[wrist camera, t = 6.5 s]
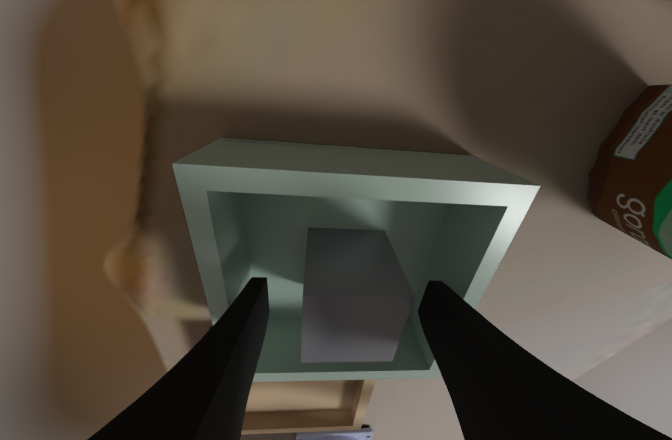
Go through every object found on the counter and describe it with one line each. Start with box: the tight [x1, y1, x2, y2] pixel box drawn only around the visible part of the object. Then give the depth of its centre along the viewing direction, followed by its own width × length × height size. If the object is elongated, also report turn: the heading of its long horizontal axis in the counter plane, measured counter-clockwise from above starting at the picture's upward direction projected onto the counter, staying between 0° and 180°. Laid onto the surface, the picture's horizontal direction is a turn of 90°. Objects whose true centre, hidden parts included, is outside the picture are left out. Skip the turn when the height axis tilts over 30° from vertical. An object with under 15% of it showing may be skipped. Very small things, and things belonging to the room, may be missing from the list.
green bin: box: [172, 137, 540, 382], centre depth 12 cm, size 12×12×4 cm
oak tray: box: [209, 327, 375, 435], centre depth 19 cm, size 12×12×2 cm
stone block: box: [301, 227, 415, 363], centre depth 11 cm, size 4×4×4 cm
